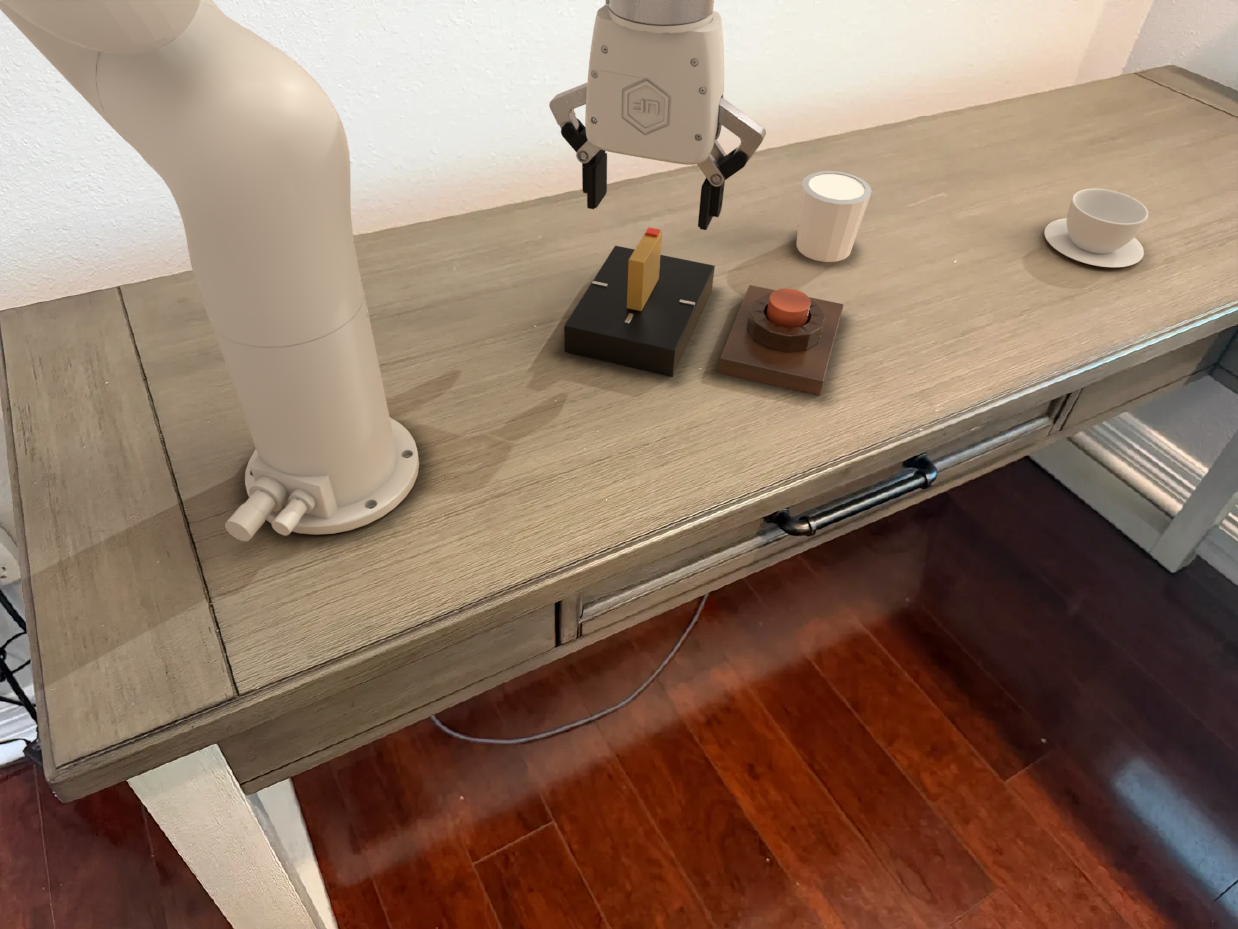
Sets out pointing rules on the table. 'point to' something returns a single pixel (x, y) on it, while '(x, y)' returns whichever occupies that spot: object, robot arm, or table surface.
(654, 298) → the plate
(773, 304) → the button
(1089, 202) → the teacup
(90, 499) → the table surface
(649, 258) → the yellow flat block
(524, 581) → the table surface
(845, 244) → the beige cup
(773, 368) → the button block
